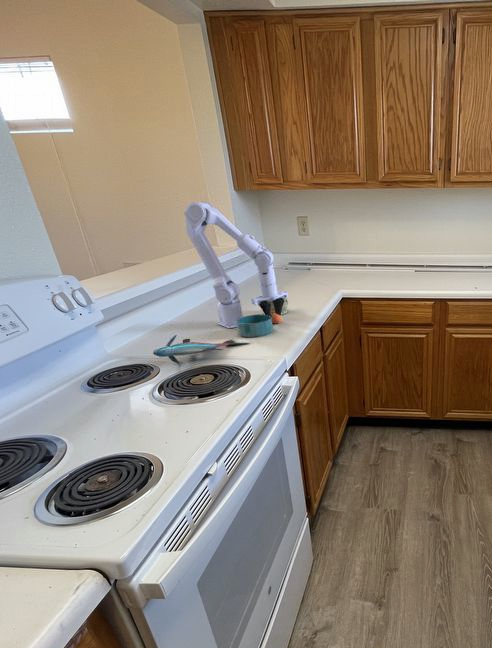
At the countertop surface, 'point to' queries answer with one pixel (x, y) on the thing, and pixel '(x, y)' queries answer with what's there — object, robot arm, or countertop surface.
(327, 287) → the countertop surface
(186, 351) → the fish
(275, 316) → the toy fish
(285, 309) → the vessel
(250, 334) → the teal pet bowl
